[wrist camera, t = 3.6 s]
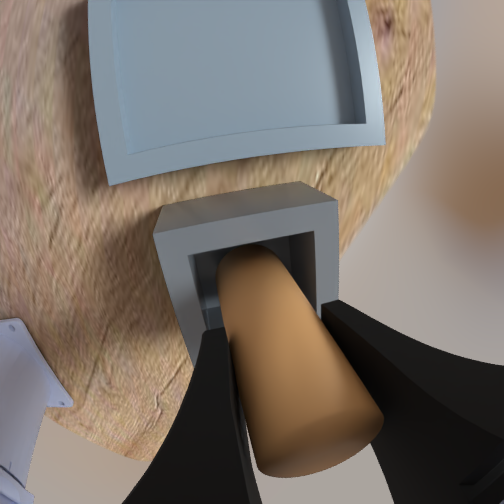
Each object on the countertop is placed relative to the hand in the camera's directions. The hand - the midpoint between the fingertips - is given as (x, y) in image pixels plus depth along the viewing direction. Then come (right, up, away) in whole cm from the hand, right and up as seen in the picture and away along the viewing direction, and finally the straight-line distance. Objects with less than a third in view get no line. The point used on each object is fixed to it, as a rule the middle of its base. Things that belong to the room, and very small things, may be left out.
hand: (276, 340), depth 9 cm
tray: (-1, +12, +2) cm, 12 cm away
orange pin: (-1, +2, +4) cm, 4 cm away
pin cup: (-1, +3, +6) cm, 7 cm away
